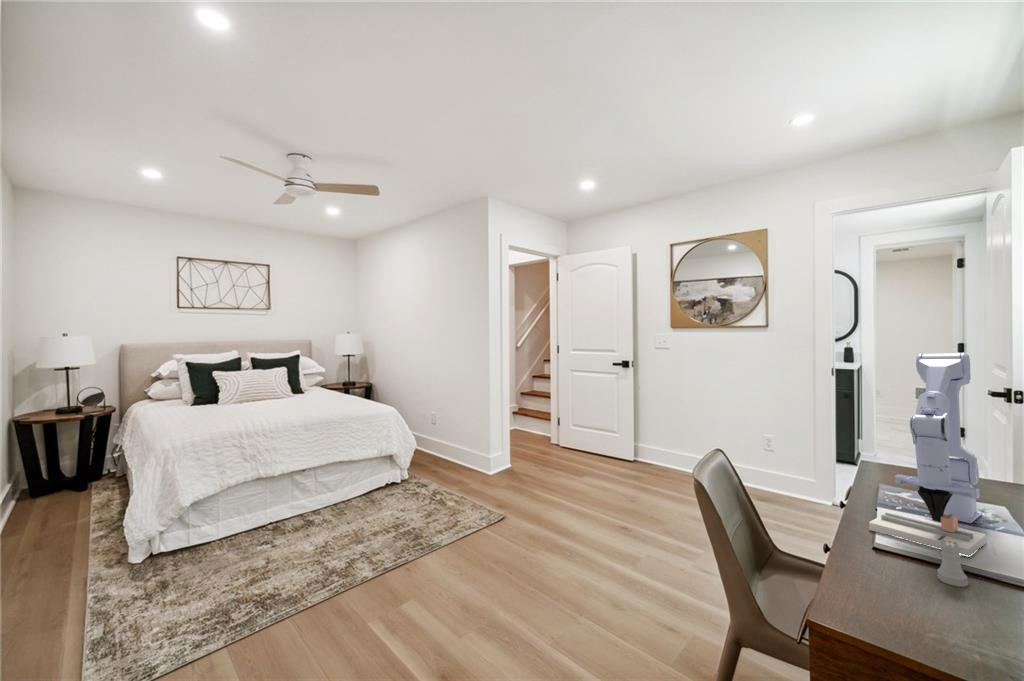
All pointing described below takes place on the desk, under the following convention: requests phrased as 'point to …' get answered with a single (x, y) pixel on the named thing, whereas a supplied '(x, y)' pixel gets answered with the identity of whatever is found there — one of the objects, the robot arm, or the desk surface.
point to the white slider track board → (926, 531)
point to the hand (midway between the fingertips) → (937, 520)
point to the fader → (949, 522)
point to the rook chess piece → (951, 565)
